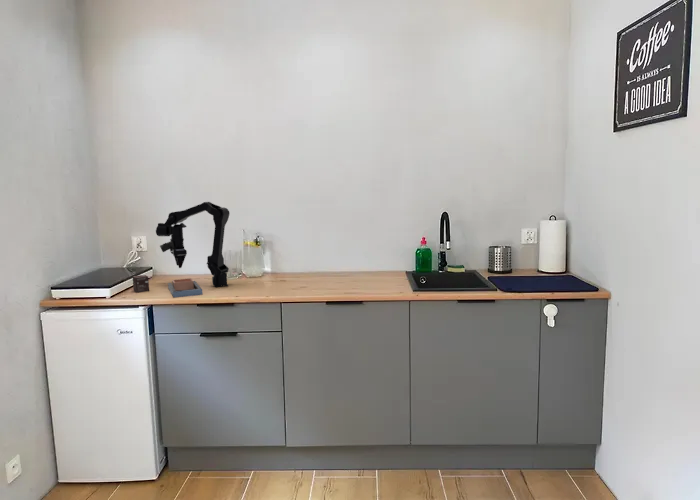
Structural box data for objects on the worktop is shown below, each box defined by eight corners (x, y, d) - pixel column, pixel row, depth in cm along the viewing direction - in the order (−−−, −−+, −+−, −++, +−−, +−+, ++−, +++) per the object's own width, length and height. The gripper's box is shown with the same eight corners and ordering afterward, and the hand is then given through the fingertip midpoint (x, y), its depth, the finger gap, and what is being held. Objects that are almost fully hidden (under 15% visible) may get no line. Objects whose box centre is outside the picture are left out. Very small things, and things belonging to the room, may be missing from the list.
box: (136, 292, 247) (135, 277, 246) (133, 290, 251) (132, 276, 250) (149, 291, 250) (148, 276, 249) (146, 289, 255) (145, 274, 254)
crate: (191, 286, 260) (191, 278, 259) (193, 289, 252) (193, 281, 252) (172, 287, 256) (172, 279, 255) (174, 290, 249) (174, 282, 248)
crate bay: (195, 285, 262) (194, 280, 262) (202, 294, 241) (202, 289, 241) (168, 288, 256) (167, 283, 256) (173, 297, 236) (173, 292, 235)
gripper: (158, 235, 267) (160, 265, 270) (162, 239, 251) (164, 270, 253) (181, 234, 272) (182, 263, 274) (185, 237, 255) (187, 268, 257)
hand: (179, 266), depth 265 cm, fingers open, 9 cm apart
